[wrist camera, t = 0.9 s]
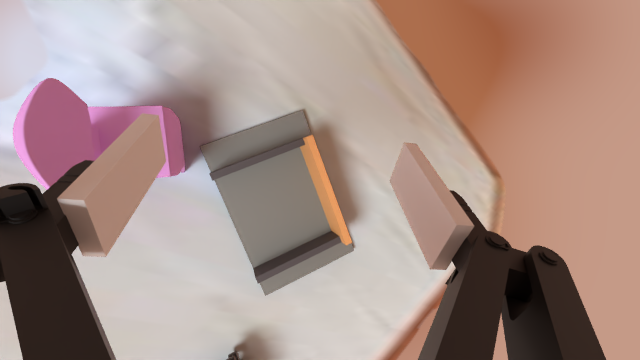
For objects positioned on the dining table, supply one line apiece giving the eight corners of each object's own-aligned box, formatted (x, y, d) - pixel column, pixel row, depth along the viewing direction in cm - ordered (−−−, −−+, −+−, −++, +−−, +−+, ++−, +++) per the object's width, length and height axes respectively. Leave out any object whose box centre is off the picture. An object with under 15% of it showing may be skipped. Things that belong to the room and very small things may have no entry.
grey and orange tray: (200, 146, 34) (195, 144, 29) (301, 110, 37) (312, 103, 33) (264, 293, 38) (270, 313, 33) (352, 249, 41) (369, 261, 36)
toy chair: (190, 180, 34) (163, 196, 20) (102, 188, 32) (-2, 212, 17) (182, 108, 33) (148, 70, 19) (90, 109, 31) (-28, 67, 16)
